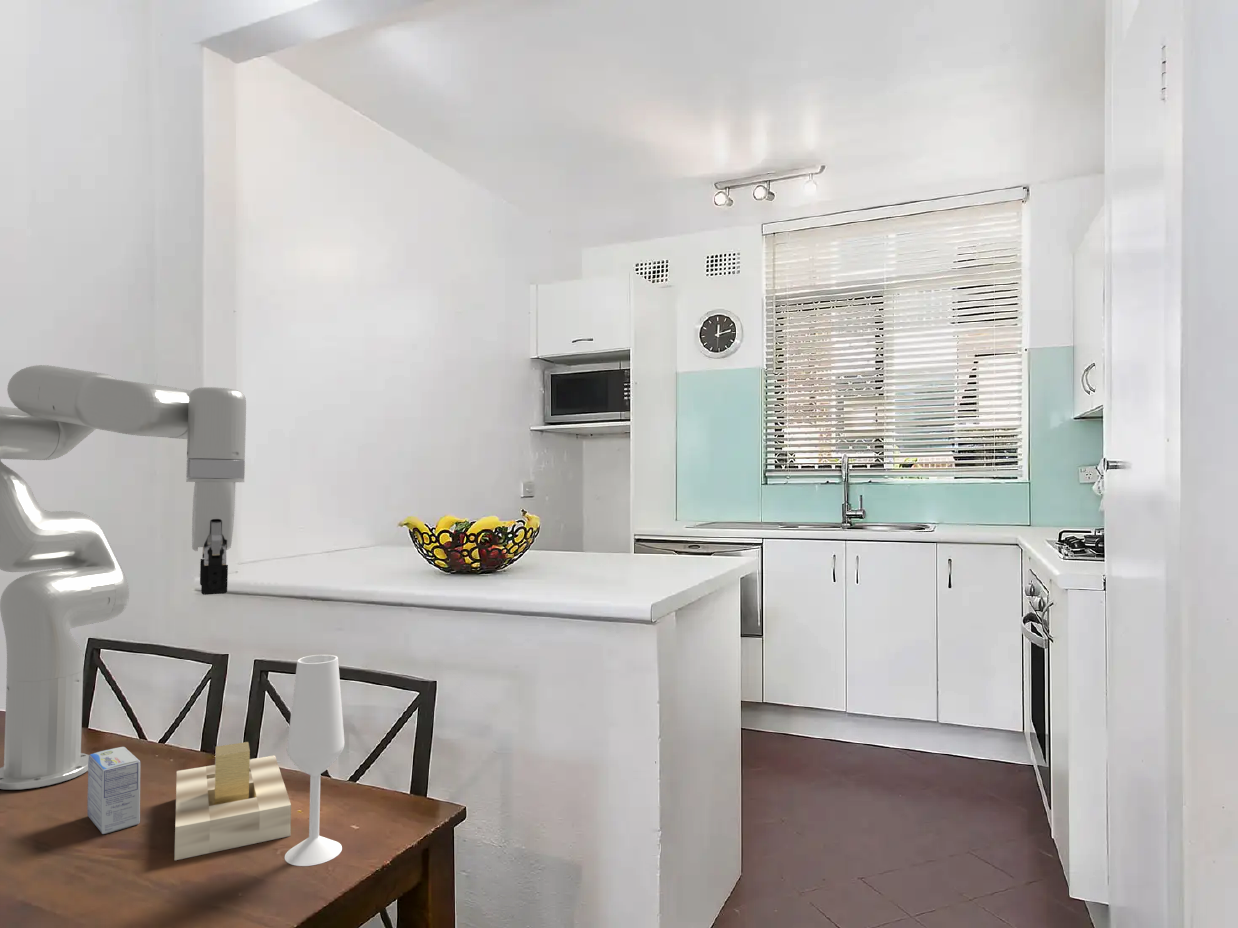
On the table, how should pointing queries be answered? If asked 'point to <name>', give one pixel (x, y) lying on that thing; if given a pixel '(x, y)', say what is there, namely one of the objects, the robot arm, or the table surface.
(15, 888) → the table surface
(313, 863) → the champagne flute
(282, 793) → the socket block
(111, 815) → the medicine box
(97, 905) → the table surface
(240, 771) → the brass peg
